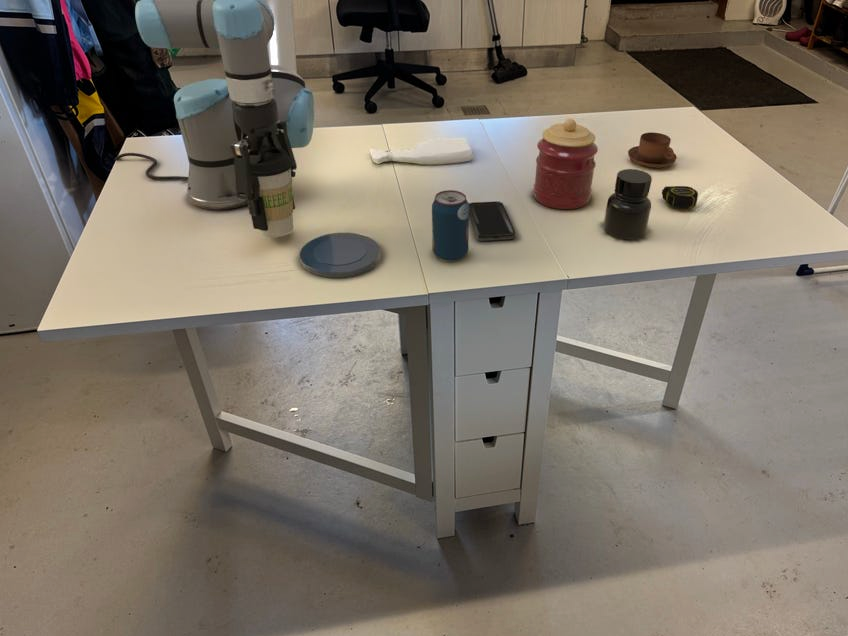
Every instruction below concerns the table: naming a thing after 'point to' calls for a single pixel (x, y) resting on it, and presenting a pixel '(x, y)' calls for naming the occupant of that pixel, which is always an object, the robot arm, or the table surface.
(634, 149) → the cup and saucer
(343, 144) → the table surface
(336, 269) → the plate
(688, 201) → the tape measure
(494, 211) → the phone
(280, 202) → the coffee cup
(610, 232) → the ink bottle
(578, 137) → the kitchen canister
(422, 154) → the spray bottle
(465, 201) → the soda can
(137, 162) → the table surface
